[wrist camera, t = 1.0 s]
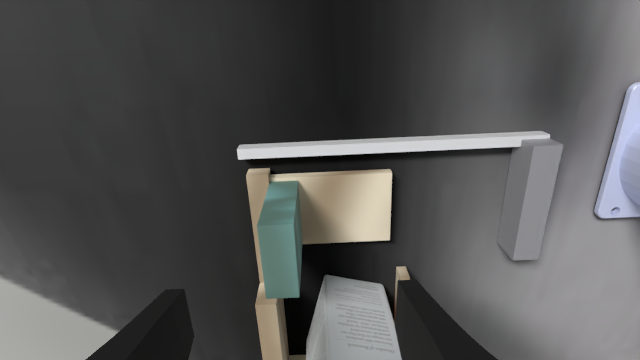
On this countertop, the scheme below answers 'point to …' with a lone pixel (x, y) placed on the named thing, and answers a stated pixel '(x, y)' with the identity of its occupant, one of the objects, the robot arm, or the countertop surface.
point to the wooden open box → (309, 233)
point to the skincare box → (352, 322)
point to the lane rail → (526, 158)
